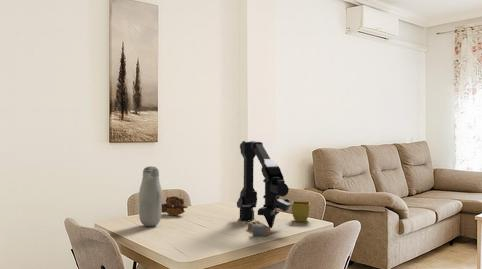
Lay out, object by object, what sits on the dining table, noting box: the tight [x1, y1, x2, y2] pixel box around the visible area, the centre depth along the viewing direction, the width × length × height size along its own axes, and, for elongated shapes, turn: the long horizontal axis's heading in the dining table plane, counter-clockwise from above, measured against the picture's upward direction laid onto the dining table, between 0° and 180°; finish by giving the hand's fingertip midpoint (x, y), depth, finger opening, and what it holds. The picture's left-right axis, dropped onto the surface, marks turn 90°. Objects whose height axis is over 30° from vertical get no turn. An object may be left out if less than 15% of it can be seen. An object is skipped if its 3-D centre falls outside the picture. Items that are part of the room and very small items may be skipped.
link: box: [247, 221, 271, 236], centre depth 181 cm, size 13×5×3 cm, turn 23°
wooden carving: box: [161, 195, 189, 216], centre depth 217 cm, size 16×5×10 cm, turn 72°
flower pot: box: [291, 200, 311, 223], centre depth 204 cm, size 9×9×9 cm
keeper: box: [252, 223, 267, 238], centre depth 175 cm, size 4×6×4 cm
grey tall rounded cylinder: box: [138, 165, 163, 227], centre depth 192 cm, size 10×10×28 cm
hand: (270, 227), depth 183 cm, fingers closed
